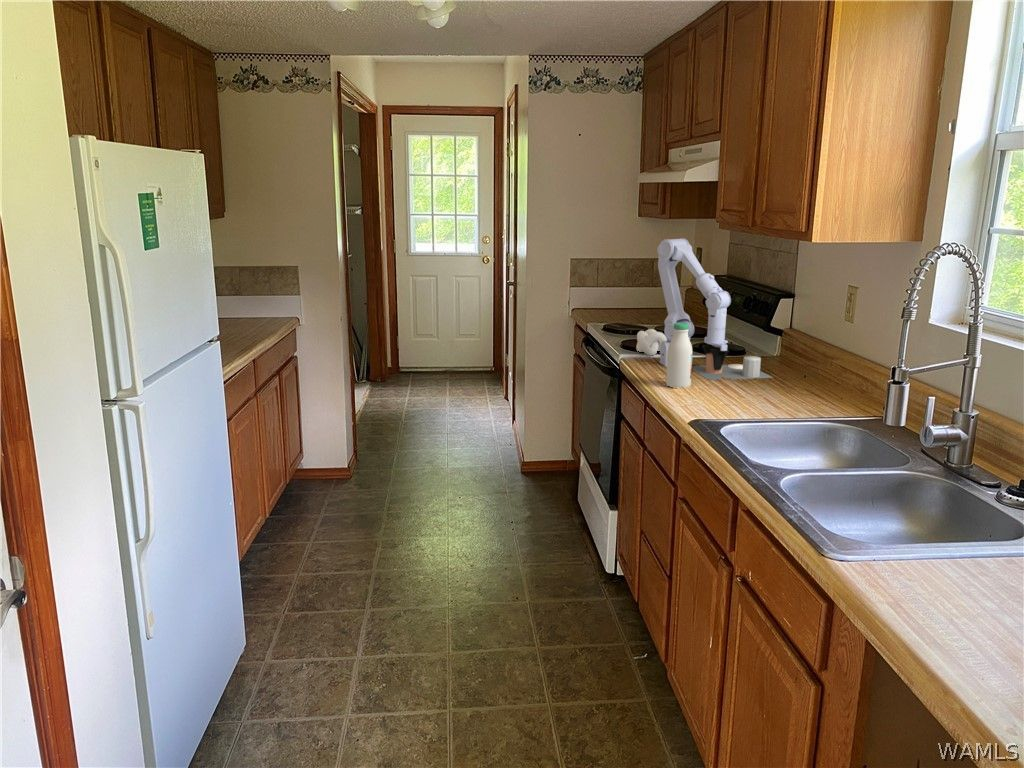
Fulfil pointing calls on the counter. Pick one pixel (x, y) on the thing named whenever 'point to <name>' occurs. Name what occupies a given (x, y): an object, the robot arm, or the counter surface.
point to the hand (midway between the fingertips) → (713, 367)
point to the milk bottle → (679, 358)
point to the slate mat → (727, 372)
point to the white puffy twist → (650, 341)
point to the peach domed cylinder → (711, 365)
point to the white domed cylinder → (751, 366)
